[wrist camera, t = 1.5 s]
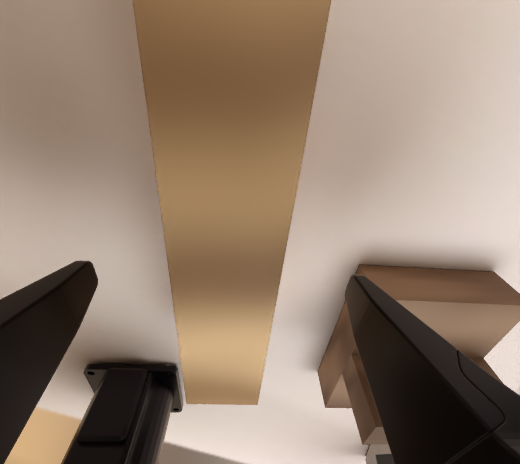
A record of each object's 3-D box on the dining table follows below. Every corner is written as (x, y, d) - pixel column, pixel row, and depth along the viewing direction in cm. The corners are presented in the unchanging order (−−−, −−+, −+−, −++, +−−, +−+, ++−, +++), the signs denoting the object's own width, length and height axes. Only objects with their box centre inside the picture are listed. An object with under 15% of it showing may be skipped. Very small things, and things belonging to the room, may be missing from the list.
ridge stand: (414, 374, 21) (466, 473, 16) (317, 372, 20) (339, 474, 15) (493, 271, 15) (618, 378, 10) (359, 264, 14) (417, 374, 9)
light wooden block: (256, 321, 17) (257, 404, 13) (202, 319, 17) (186, 403, 13) (296, 5, 8) (341, -55, 4) (188, -9, 8) (121, -87, 4)
